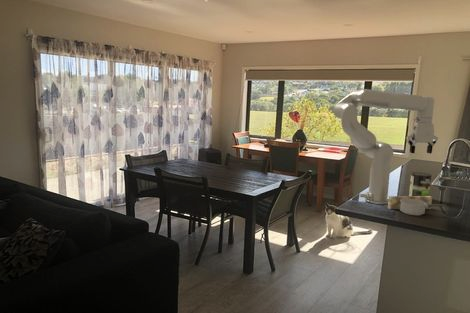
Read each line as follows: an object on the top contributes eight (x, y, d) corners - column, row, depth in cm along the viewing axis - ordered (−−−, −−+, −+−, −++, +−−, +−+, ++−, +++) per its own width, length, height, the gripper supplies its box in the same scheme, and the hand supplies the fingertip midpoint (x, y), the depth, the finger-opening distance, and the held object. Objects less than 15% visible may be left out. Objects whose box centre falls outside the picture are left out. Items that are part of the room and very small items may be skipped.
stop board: (389, 209, 182) (390, 197, 182) (387, 207, 184) (388, 196, 184) (430, 208, 185) (432, 197, 184) (428, 207, 187) (429, 196, 186)
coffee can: (433, 200, 201) (436, 175, 199) (417, 201, 198) (420, 176, 196) (419, 196, 211) (422, 171, 209) (404, 196, 208) (406, 172, 206)
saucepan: (448, 220, 168) (449, 208, 167) (400, 214, 173) (401, 203, 173) (442, 213, 178) (443, 201, 178) (397, 208, 184) (398, 197, 183)
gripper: (412, 120, 188) (409, 153, 191) (444, 121, 190) (440, 154, 193) (404, 120, 195) (401, 151, 198) (434, 120, 198) (431, 152, 200)
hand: (420, 153), depth 195 cm, fingers open, 9 cm apart
